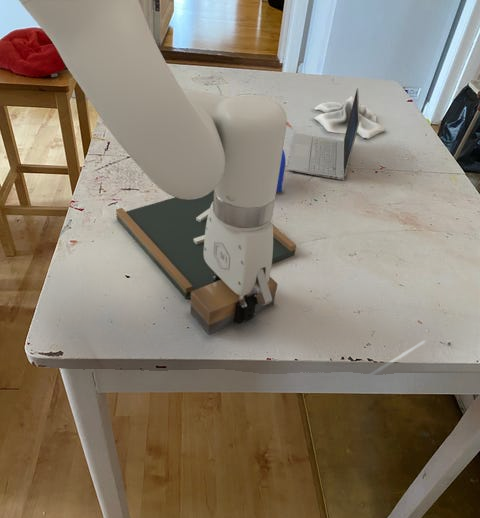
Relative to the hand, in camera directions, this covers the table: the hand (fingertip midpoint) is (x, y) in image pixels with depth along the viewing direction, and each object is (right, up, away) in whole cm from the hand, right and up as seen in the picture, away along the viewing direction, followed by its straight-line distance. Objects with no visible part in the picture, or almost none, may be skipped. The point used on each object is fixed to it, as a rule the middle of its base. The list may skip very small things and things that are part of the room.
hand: (233, 307), depth 71 cm
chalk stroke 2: (-5, +12, +10) cm, 16 cm away
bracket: (+1, +29, +29) cm, 41 cm away
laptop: (+19, +35, +37) cm, 54 cm away
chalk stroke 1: (-5, +17, +15) cm, 23 cm away
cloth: (+30, +51, +53) cm, 79 cm away
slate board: (-5, +13, +12) cm, 19 cm away
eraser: (0, 0, 0) cm, 0 cm away
